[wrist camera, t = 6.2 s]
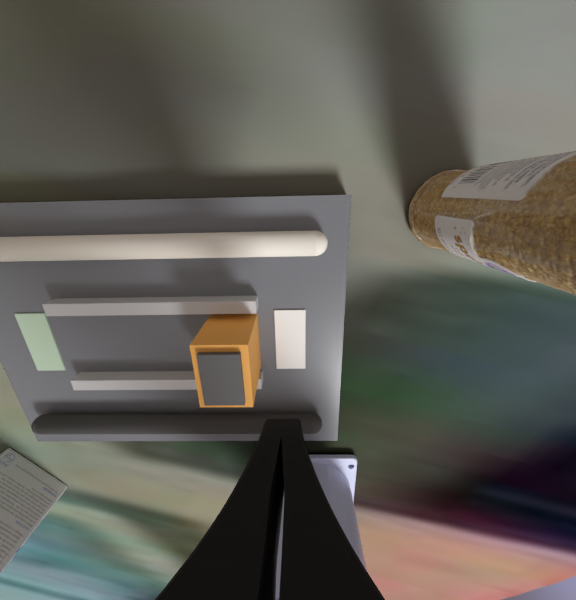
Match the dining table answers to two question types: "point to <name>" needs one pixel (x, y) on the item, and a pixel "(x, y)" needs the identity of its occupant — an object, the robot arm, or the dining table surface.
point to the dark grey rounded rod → (167, 423)
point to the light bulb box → (22, 501)
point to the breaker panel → (172, 311)
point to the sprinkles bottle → (505, 217)
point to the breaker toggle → (227, 360)
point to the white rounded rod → (163, 246)
